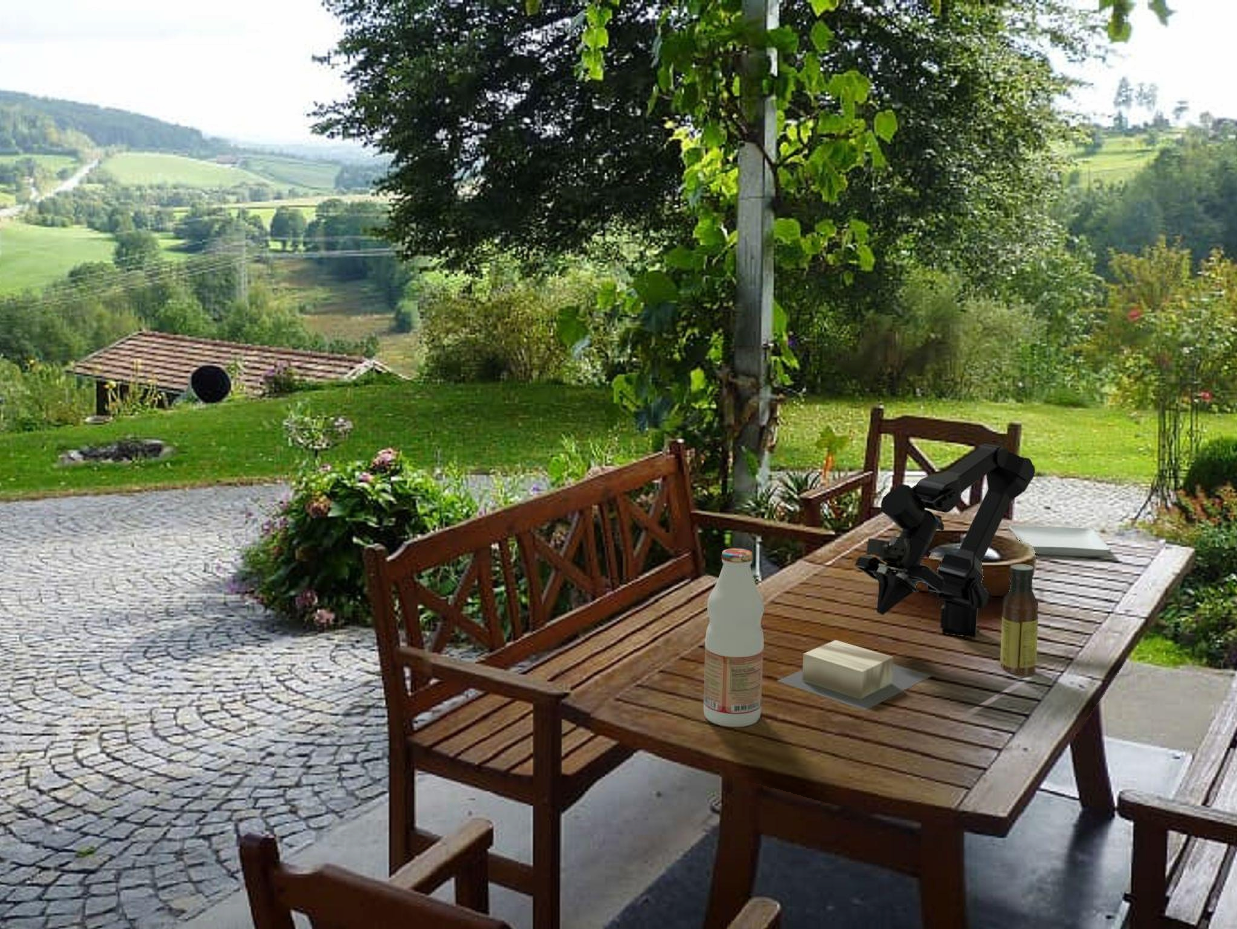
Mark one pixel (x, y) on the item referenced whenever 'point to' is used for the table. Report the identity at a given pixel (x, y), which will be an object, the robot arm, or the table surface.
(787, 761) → the table surface
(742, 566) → the white milk bottle
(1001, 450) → the robot arm
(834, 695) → the rubber mat
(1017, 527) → the salad plate
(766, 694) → the table surface
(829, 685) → the birch block
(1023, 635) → the sauce bottle
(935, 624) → the table surface
